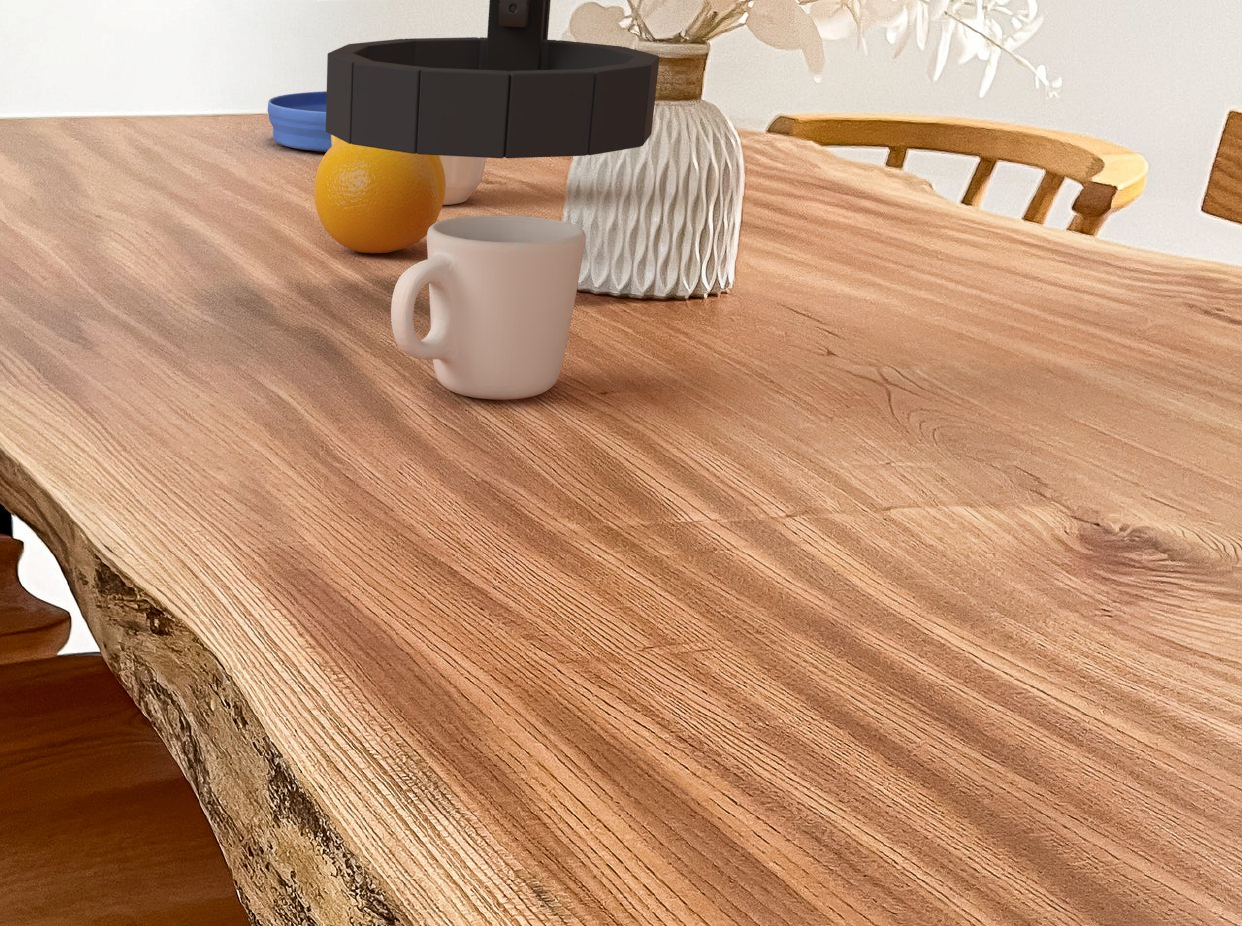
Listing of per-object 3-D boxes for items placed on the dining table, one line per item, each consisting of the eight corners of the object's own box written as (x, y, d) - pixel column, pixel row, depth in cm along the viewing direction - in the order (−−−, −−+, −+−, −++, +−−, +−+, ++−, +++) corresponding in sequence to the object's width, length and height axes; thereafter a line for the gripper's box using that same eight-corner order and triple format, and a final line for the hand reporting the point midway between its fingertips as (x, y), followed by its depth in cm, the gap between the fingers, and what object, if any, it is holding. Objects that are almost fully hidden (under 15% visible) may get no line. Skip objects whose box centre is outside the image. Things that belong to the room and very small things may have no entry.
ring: (662, 119, 99) (670, 43, 98) (629, 164, 87) (638, 78, 85) (368, 106, 103) (371, 33, 101) (296, 148, 90) (297, 65, 88)
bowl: (471, 158, 170) (474, 114, 168) (265, 157, 170) (265, 113, 168) (457, 130, 185) (460, 89, 183) (268, 128, 186) (269, 88, 184)
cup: (440, 426, 96) (450, 255, 92) (346, 391, 102) (350, 229, 97) (604, 395, 101) (619, 232, 97) (505, 364, 107) (516, 209, 102)
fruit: (308, 261, 131) (311, 132, 127) (318, 239, 138) (321, 116, 134) (440, 265, 130) (447, 135, 126) (443, 242, 137) (450, 118, 133)
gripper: (497, -456, 95) (465, 77, 107) (443, -493, 83) (414, 110, 95) (653, -459, 93) (602, 82, 105) (620, -498, 81) (568, 116, 93)
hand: (513, 94), depth 100 cm, fingers closed on ring, 1 cm apart
